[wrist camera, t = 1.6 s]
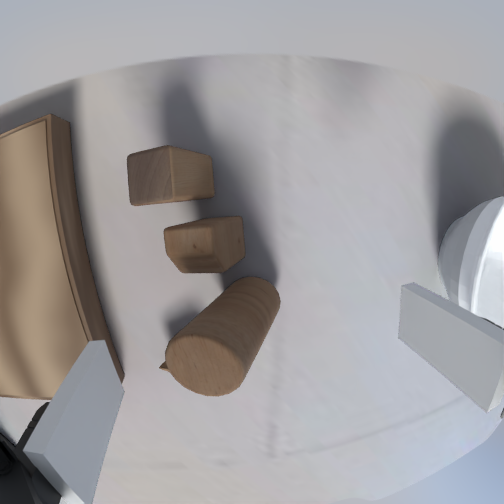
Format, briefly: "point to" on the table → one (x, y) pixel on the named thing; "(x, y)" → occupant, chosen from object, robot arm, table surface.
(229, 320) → the wooden block set
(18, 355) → the plinth
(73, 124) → the table surface
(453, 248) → the bowl
